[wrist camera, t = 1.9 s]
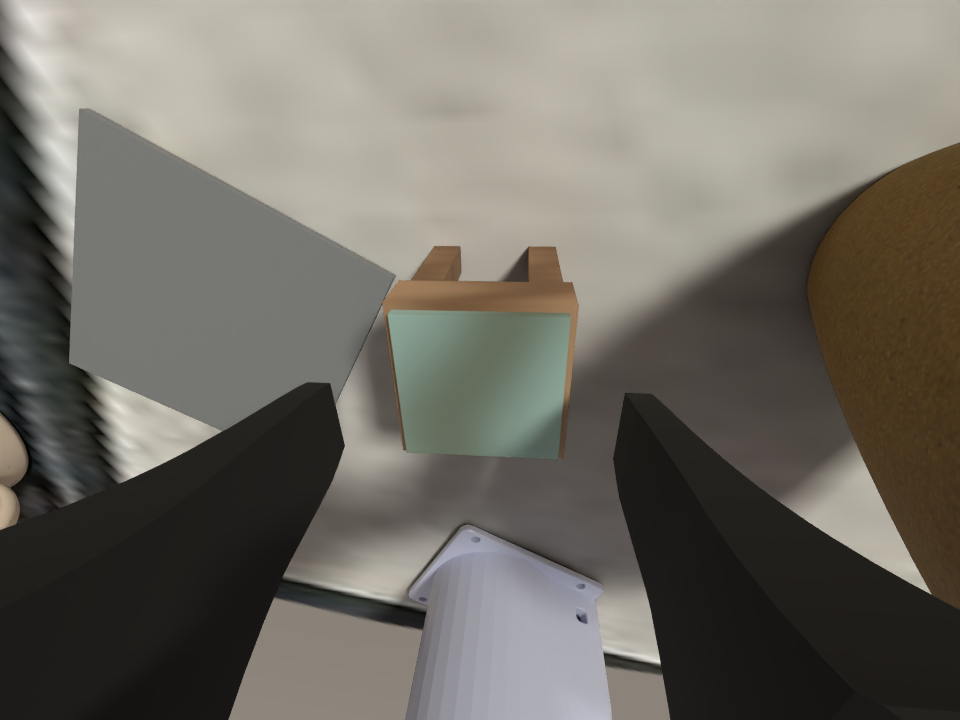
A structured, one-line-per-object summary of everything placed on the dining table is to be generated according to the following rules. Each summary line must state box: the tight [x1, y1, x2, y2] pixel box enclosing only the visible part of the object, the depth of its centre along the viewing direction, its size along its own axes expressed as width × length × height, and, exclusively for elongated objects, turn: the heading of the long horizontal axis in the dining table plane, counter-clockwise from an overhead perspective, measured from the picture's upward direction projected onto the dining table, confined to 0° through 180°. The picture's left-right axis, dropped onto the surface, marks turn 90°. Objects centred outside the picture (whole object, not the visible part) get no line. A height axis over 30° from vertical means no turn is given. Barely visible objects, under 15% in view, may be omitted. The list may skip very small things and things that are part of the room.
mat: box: [69, 109, 396, 431], centre depth 19 cm, size 12×12×1 cm
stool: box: [382, 246, 579, 460], centre depth 15 cm, size 5×5×6 cm
